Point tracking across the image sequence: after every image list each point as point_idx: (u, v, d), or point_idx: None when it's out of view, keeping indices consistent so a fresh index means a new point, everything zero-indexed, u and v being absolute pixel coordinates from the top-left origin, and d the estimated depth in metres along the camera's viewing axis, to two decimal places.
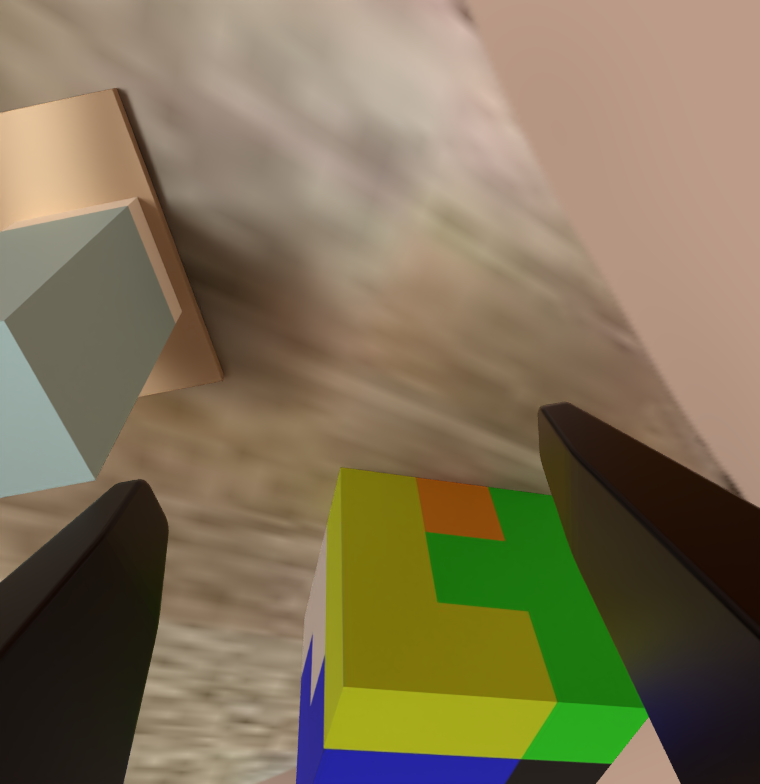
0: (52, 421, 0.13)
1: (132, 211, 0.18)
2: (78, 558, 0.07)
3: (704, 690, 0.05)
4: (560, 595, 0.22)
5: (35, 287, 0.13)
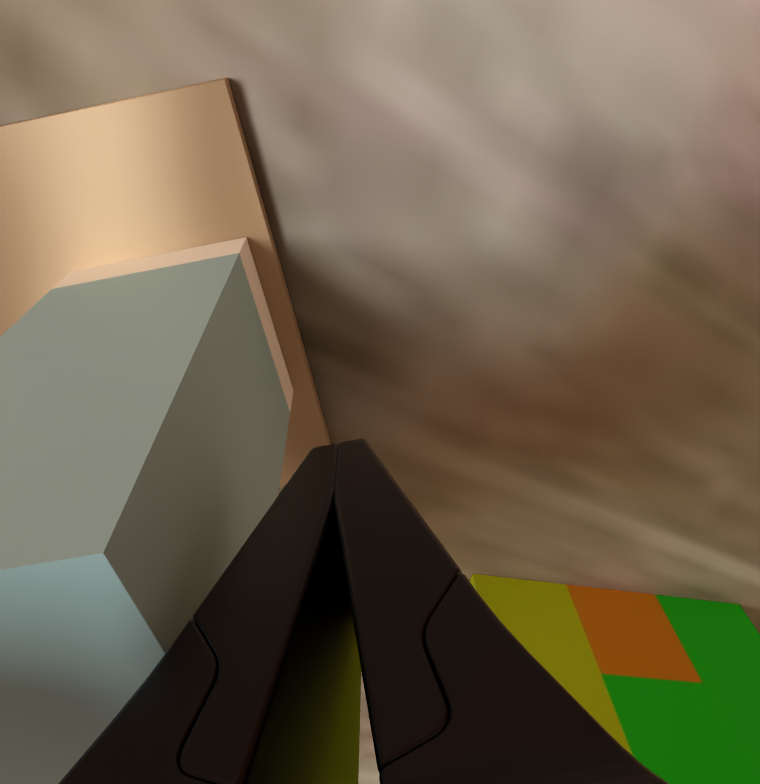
0: None
1: (244, 261, 0.12)
2: (320, 515, 0.07)
3: None
4: None
5: (144, 443, 0.07)
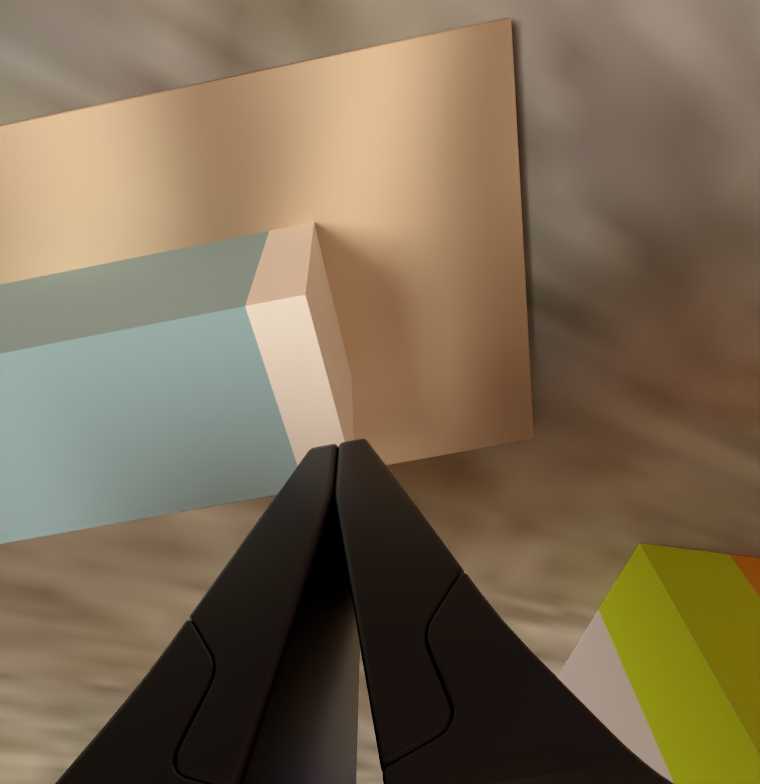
0: None
1: (259, 316, 0.10)
2: (318, 515, 0.07)
3: None
4: None
5: None
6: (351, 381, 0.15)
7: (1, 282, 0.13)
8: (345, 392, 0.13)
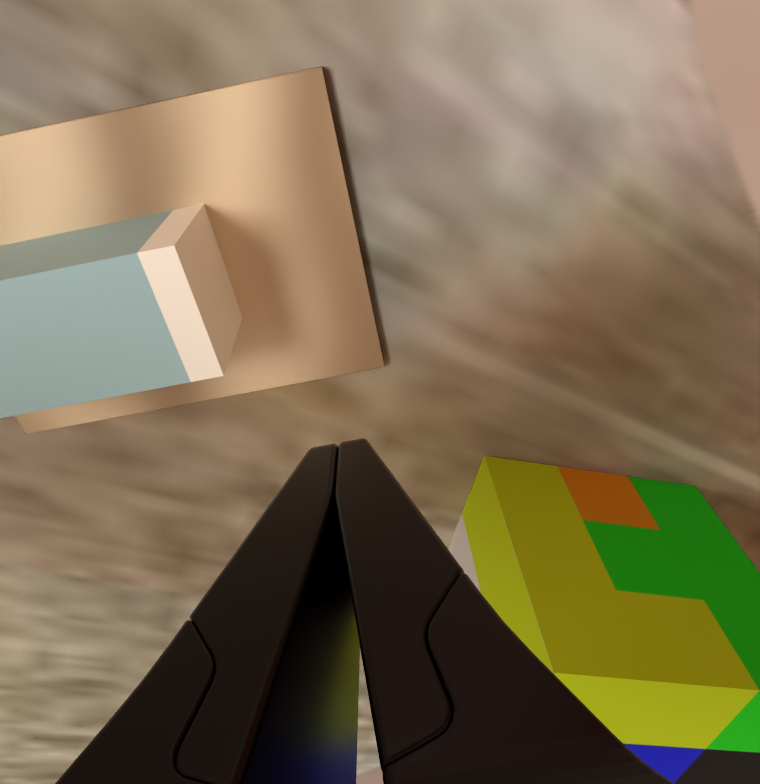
0: None
1: (147, 260, 0.16)
2: (318, 516, 0.07)
3: None
4: (729, 584, 0.22)
5: None
6: (241, 320, 0.21)
7: None
8: (225, 321, 0.19)
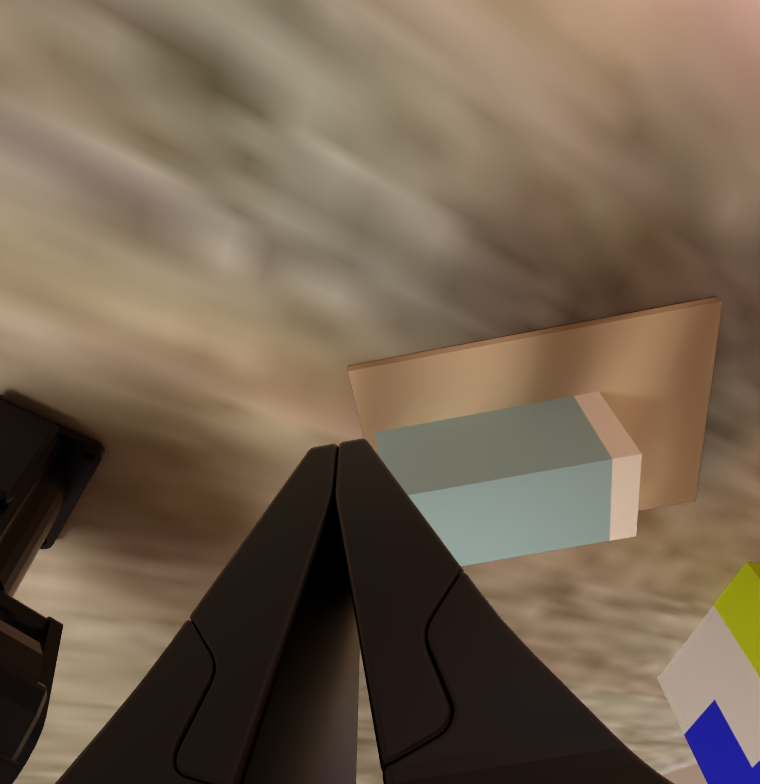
0: None
1: (617, 463, 0.21)
2: (318, 516, 0.07)
3: None
4: None
5: (428, 489, 0.21)
6: None
7: (422, 422, 0.24)
8: None
